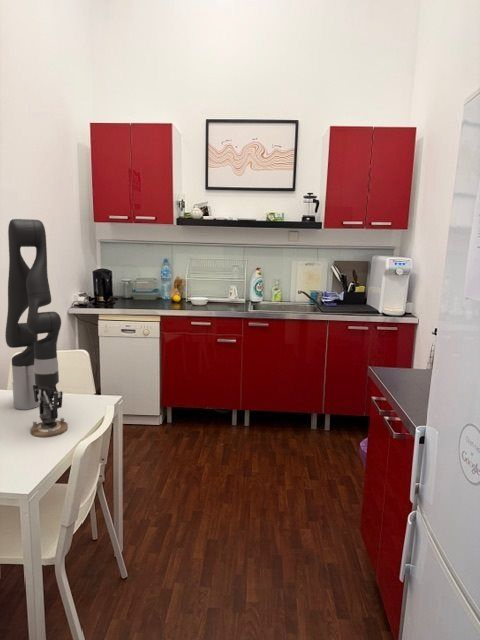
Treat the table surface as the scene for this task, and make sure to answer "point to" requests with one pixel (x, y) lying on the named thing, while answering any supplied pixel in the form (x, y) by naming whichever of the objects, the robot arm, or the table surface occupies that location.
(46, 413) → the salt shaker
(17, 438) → the table surface
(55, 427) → the pin holder
